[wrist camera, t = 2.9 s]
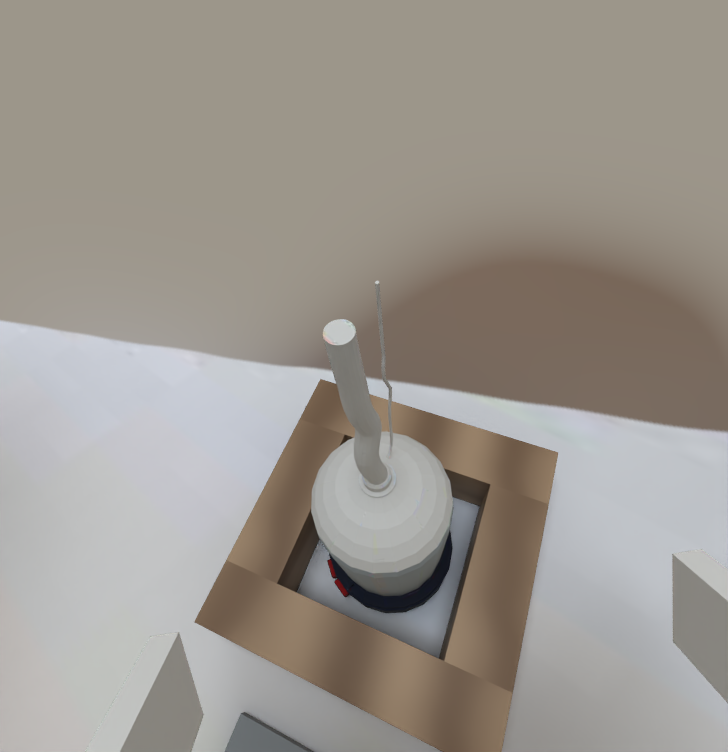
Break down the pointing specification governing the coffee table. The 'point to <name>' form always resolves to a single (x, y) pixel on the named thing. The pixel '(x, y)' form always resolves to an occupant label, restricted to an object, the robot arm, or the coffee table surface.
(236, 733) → the mat
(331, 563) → the humidifier
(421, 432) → the dock
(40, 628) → the coffee table surface
